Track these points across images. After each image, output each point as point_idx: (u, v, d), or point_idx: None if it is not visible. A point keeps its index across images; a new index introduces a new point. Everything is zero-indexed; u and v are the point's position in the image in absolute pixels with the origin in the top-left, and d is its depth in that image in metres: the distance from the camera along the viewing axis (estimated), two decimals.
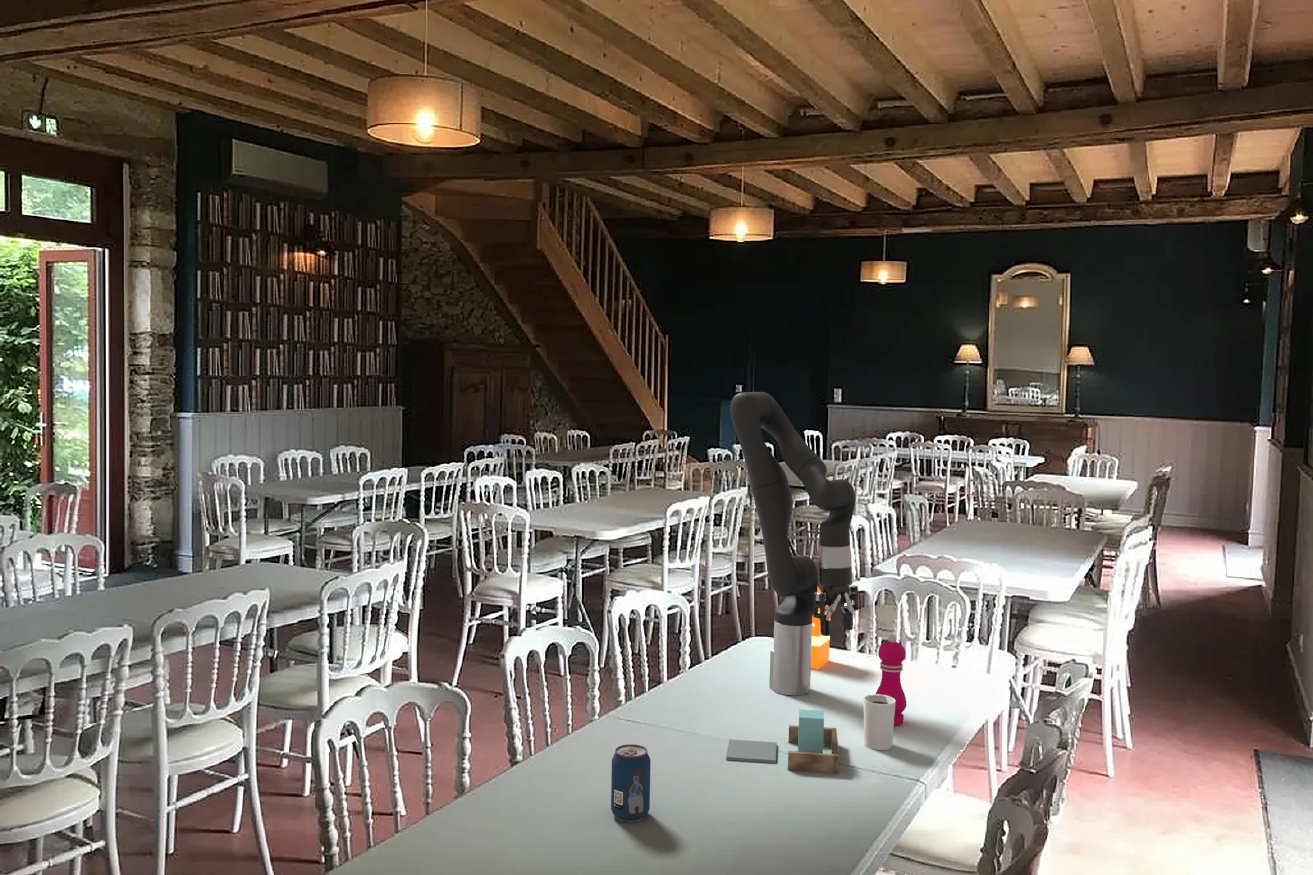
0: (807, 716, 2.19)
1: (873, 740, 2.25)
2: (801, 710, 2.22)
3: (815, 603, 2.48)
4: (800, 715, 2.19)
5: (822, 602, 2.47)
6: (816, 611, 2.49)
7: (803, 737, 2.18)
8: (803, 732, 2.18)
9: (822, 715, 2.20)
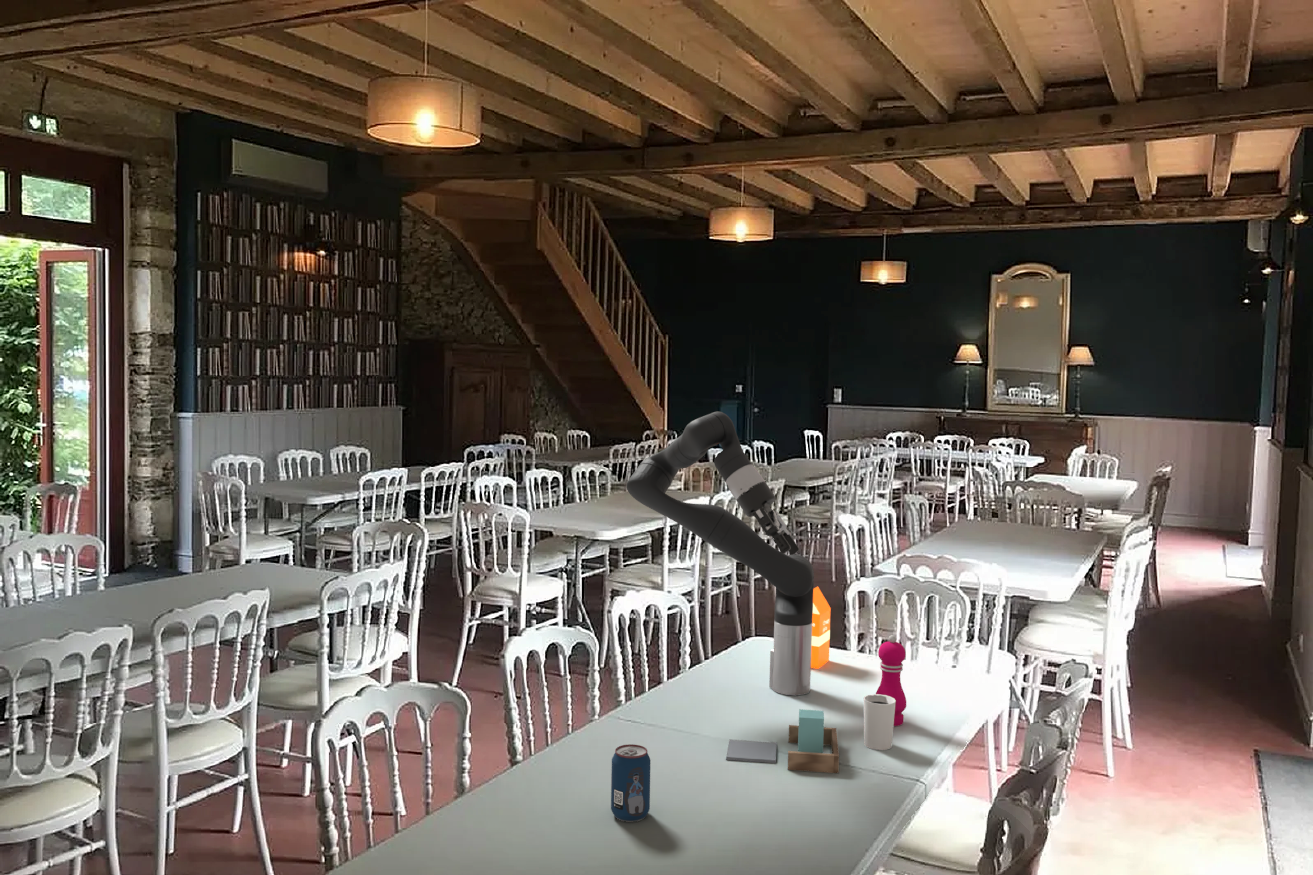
0: (807, 716, 2.19)
1: (873, 740, 2.25)
2: (801, 710, 2.22)
3: (760, 521, 2.25)
4: (800, 715, 2.19)
5: (767, 514, 2.25)
6: (766, 529, 2.25)
7: (803, 737, 2.18)
8: (803, 732, 2.18)
9: (822, 715, 2.20)
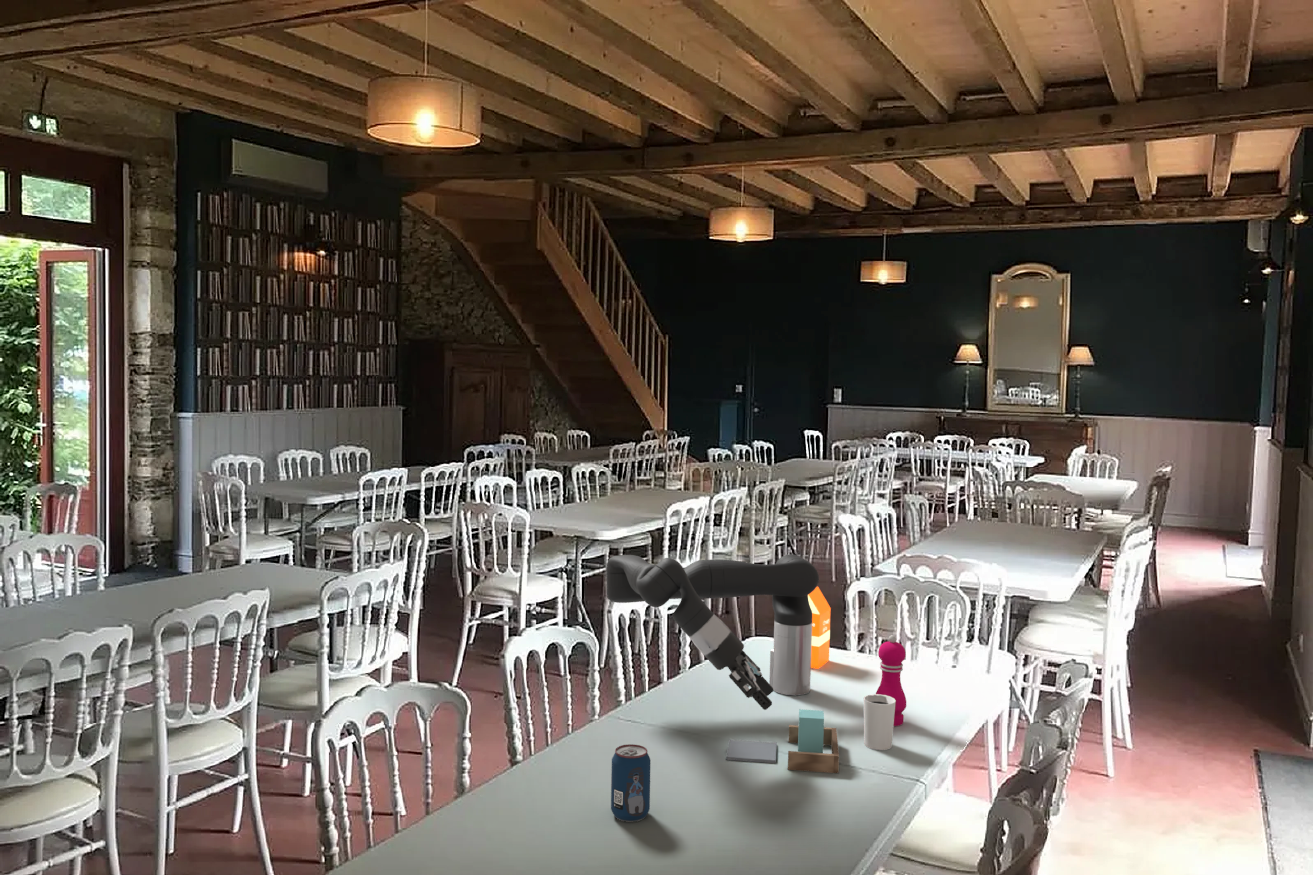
0: (807, 716, 2.19)
1: (873, 740, 2.25)
2: (801, 710, 2.22)
3: (739, 683, 2.14)
4: (800, 715, 2.19)
5: (744, 676, 2.14)
6: (745, 690, 2.14)
7: (803, 736, 2.18)
8: (803, 732, 2.18)
9: (822, 715, 2.20)
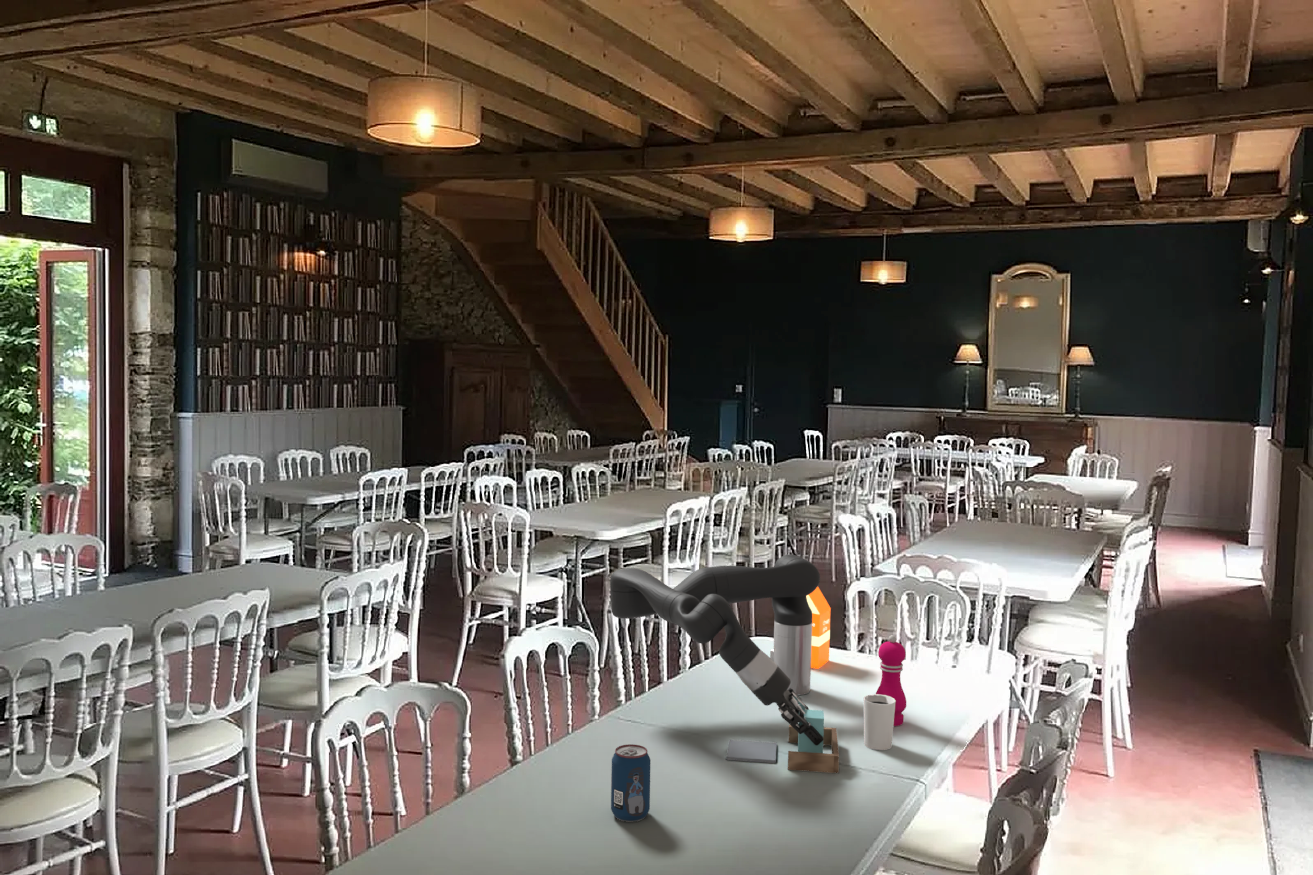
0: (807, 716, 2.19)
1: (873, 740, 2.25)
2: None
3: (791, 722, 2.15)
4: None
5: (796, 714, 2.15)
6: (797, 727, 2.16)
7: (803, 736, 2.18)
8: None
9: (822, 715, 2.20)
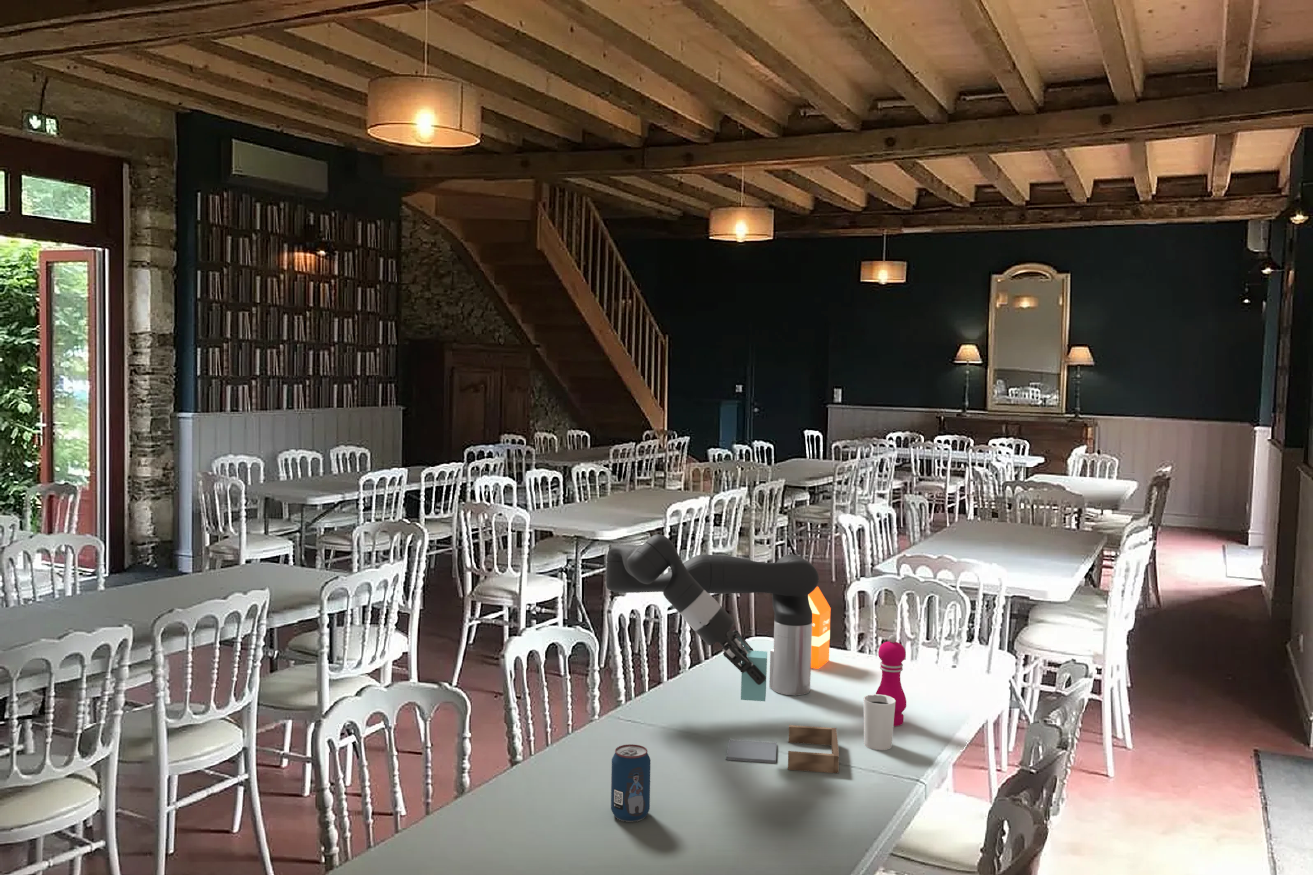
0: (750, 656, 2.19)
1: (873, 740, 2.25)
2: None
3: (734, 661, 2.15)
4: None
5: (738, 653, 2.15)
6: (739, 666, 2.16)
7: (746, 676, 2.19)
8: (746, 672, 2.19)
9: (765, 655, 2.20)
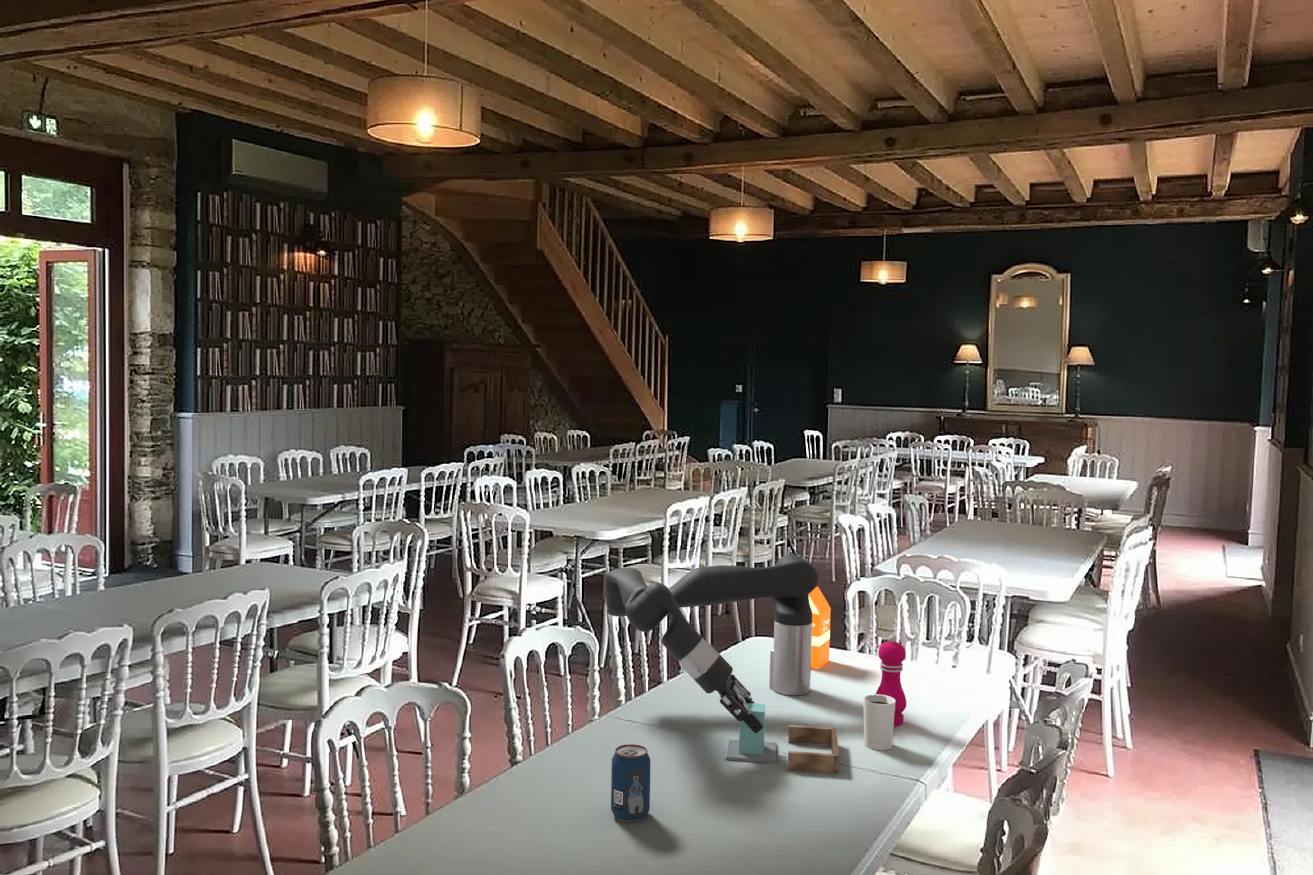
0: None
1: (873, 740, 2.25)
2: None
3: (730, 708, 2.16)
4: None
5: (735, 700, 2.16)
6: (736, 714, 2.16)
7: (744, 729, 2.20)
8: (744, 725, 2.20)
9: (763, 708, 2.21)
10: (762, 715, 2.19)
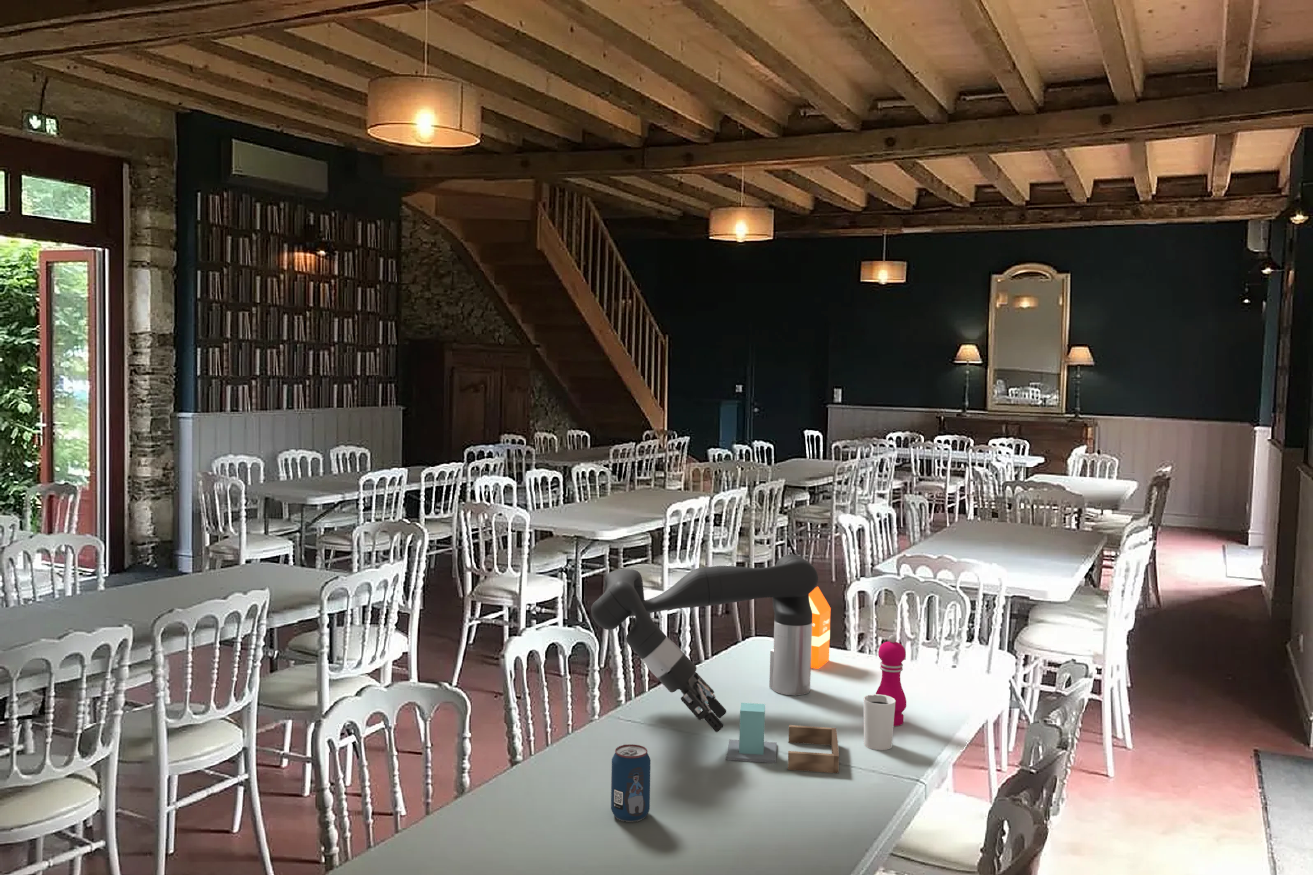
0: (748, 709, 2.20)
1: (873, 740, 2.25)
2: (743, 703, 2.24)
3: (690, 706, 2.16)
4: (742, 709, 2.21)
5: (696, 698, 2.16)
6: (697, 713, 2.16)
7: (744, 729, 2.20)
8: (744, 725, 2.20)
9: (763, 708, 2.21)
10: (762, 715, 2.19)
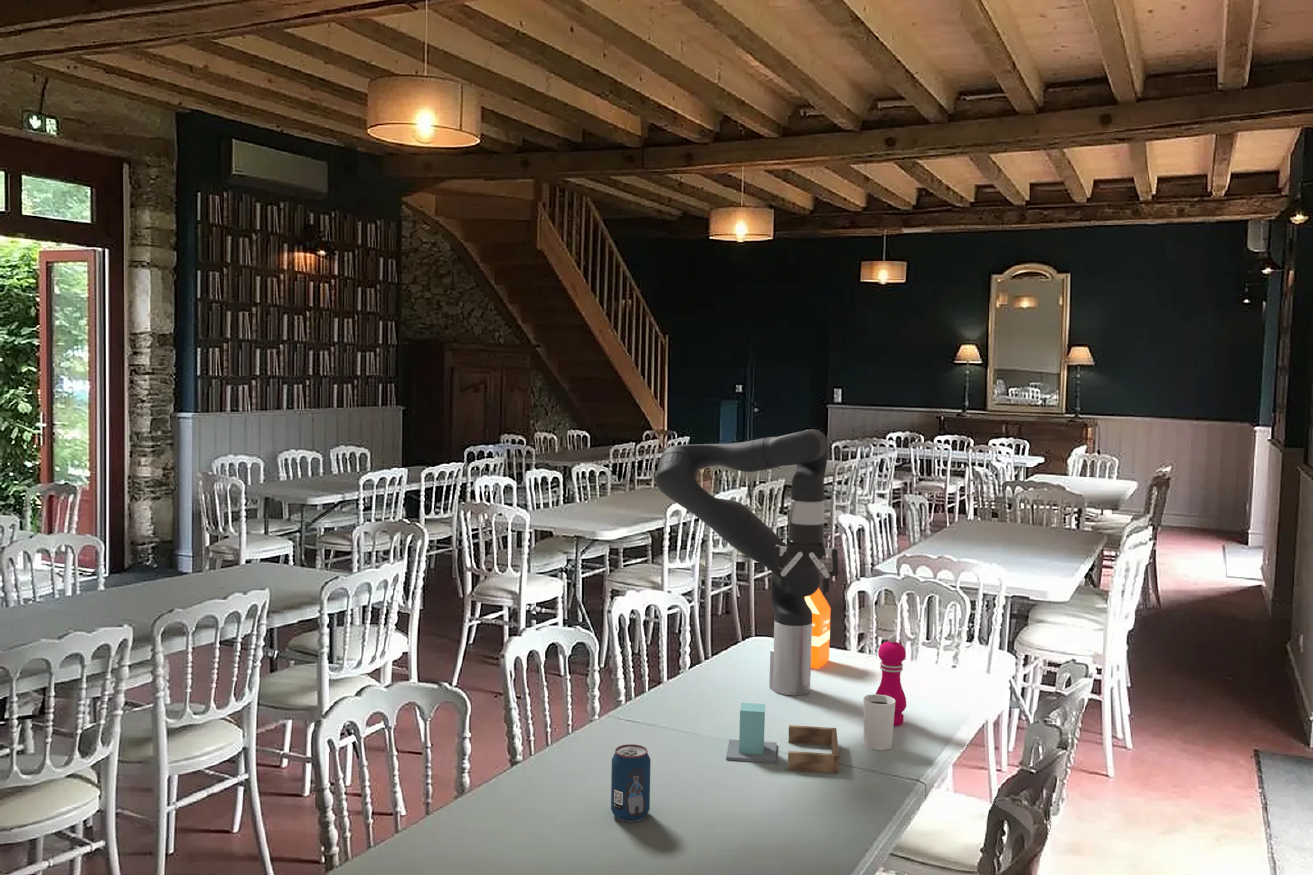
0: (748, 709, 2.20)
1: (873, 740, 2.25)
2: (743, 703, 2.24)
3: (837, 559, 2.34)
4: (742, 709, 2.21)
5: None
6: None
7: (744, 729, 2.20)
8: (744, 725, 2.20)
9: (763, 708, 2.21)
10: (762, 715, 2.19)
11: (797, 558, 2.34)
